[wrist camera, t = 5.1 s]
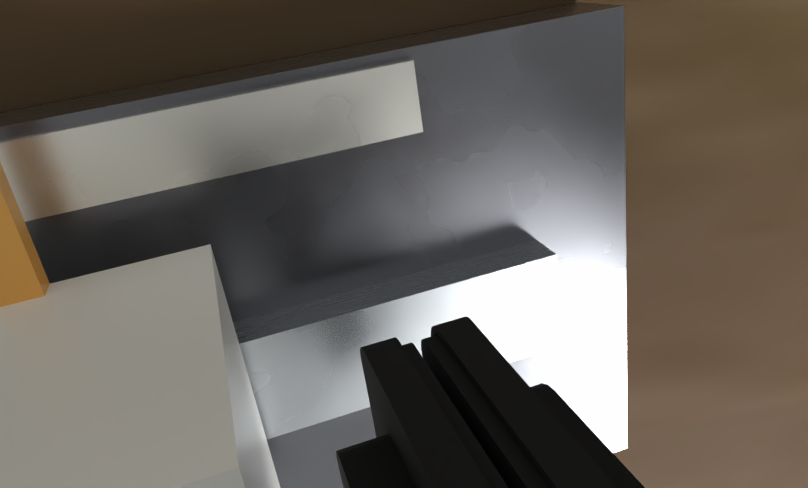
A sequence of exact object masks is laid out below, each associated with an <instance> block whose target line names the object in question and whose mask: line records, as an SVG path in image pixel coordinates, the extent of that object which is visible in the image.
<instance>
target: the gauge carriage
mask: <svg viewBox="0 0 808 488" xmlns="http://www.w3.org/2000/svg"><path fill="white" fill-rule="evenodd" d="M0 488H280V484H279V481H278V477H277V474H276V470H275V467H274V463H273V460H272V457H271V453H270V450H269V446H268V443H267V439H266V436H265V432H264V429H263V425H262V422H261V418H260V415H259V411H258V408H257V404H256V401H255V397H254V394H253V390H252V387H251V384H250V380H249V377H248V373H247V370H246V366H245V363H244V359H243V356H242V352H241V349H240V345H239V342H238V338H237V335H236V331H235V328H234V324H233V321H232V317H231V314H230V310H229V307H228V304H227V300H226V297H225V293H224V290H223V286H222V283H221V279H220V276H219V272H218V269H217V265H216V262H215V258H214V255H213V251H212V248H211V244H209V245H205V246H201V247H197V248H193V249H189V250H185V251H181V252H177V253H173V254H168V255H164V256H160V257H156V258H152V259H148V260H144V261H140V262H136V263H132V264H128V265H124V266H120V267H116V268H112V269H108V270H104V271H99V272H95V273H91V274H87V275H83V276H79V277H75V278H71V279H67V280H63V281H59V282H55V283H51V284H50V283H49V280H48V278H47V276H46V273H45V271H44V268H43V266H42V263H41V261H40V258H39V256H38V253H37V251H36V248H35V246H34V244H33V241H32V239H31V236H30V234H29V231H28V229H27V226H26V224H25V221H24V219H23V217H22V214H21V212H20V209H19V207H18V204H17V202H16V199H15V197H14V194H13V192H12V189H11V187H10V185H9V182H8V180H7V177H6V175H5V172H4V170H3V167H2V165H1V162H0Z"/></svg>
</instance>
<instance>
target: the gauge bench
mask: <svg viewBox="0 0 808 488" xmlns="http://www.w3.org/2000/svg"><path fill="white" fill-rule="evenodd" d="M0 162H1V165H2V167H3V170H4V172H5V175H6V177H7V180H8V182H9V185H10V187H11V189H12V192H13V194H14V197H15V199H16V202H17V204H18V207H19V209H20V212H21V214H22V217H23V219H24V221H25V224H26V226H27V229H28V231H29V234H30V236H31V239H32V241H33V244H34V246H35V248H36V251H37V253H38V256H39V258H40V261H41V263H42V266H43V268H44V271H45V273H46V276H47V278H48V280H49V283H50V284H51V283H55V282H59V281H63V280H67V279H71V278H75V277H79V276H83V275H87V274H91V273H95V272H99V271H104V270H108V269H112V268H116V267H120V266H124V265H128V264H132V263H136V262H140V261H144V260H148V259H152V258H156V257H160V256H164V255H168V254H173V253H177V252H181V251H185V250H189V249H193V248H197V247H201V246H205V245H209V244H211V248H212V251H213V255H214V258H215V262H216V265H217V269H218V272H219V276H220V279H221V283H222V286H223V290H224V293H225V297H226V300H227V304H228V307H229V310H230V314H231V317H232V321H233V324H234V328H235V331H236V335H237V338H238V342H239V345H240V349H241V352H242V356H243V359H244V363H245V366H246V370H247V373H248V377H249V380H250V384H251V387H252V390H253V394H254V397H255V401H256V404H257V408H258V411H259V415H260V418H261V422H262V425H263V429H264V432H265V436H266V439H267V443H268V446H269V450H270V453H271V457H272V460H273V463H274V467H275V470H276V474H277V477H278V481H279V484H280V488H343V484H342V480H341V475H340V471H339V467H338V462H337V457H336V451H337V450H340V449H343V448H346V447H349V446H352V445H355V444H358V443H362V442H365V441H368V440H371V439H374V438H376V433H375V428H374V423H373V418H372V413H371V407H370V402H369V397H368V392H367V387H366V382H365V377H364V372H363V367H362V362H361V356H360V347H363V346H367V345H370V344H374V343H377V342H380V341H384V340H387V339H391V338H394V337H396V338H397V339H398V340H399V341H400V343H401V345H405V344H408V343H413V344H414V345H415V347H416V348H417V350H418V351H419V353H420V354H421V356H422V351H421V340H422V339H425V338H428V337H431V328H432V326H435V325H438V324H441V323H445V322H448V321H452V320H455V319H458V318H462V317H469V318H470V319H471V320H472V321H473V322H474V324H475V325H476V326H477V327H478V328H479V329H480V330H481V332H482V333H483V334H484V335H485V336H486V337H487V338H488V340H489V341H490V342H491V343H492V344H493V345H494V346H495V348H496V349H497V350H498V351H499V352H500V353H501V354H502V356H503V357H504V358H505V359H506V360H507V361H508V362H509V364H510V365H511V366H512V367H513V368H514V369H515V370H516V372H517V373H518V374H519V375H520V376H521V377H522V379H523V380H524V381H525V382H526V383H527V384H528V385H529V387H532V386H535V385H538V384H541V383H543V384H547V385H549V386H550V387H551V388H552V389H553V390H555V391H556V393H557V394H558V395H559V396H560V397H561V398H562V399H563V400H564V401H565V402H566V403H567V404H568V405H569V407H570V408H571V409H572V410H573V411H574V412H575V413H576V414H577V415H578V416H579V417H580V418H581V420H582V421H583V422H584V423H585V424H586V425H587V426H588V427H589V428H590V429H591V430H592V431H593V432H594V434H595V435H596V436H597V437H598V438H599V439H600V440H601V441H602V442H603V443H604V444H605V445H606V447H607V448H608V449H609V450H610V451H611V452H612V453H616V452H618V451H621V450H624V449H627V448H628V419H627V298H626V178H625V58H624V5H609V4H593V3H574V4H569V5H564V6H558V7H553V8H548V9H543V10H537V11H532V12H527V13H522V14H516V15H511V16H506V17H501V18H495V19H490V20H485V21H480V22H474V23H469V24H464V25H459V26H453V27H448V28H443V29H438V30H432V31H427V32H422V33H417V34H411V35H406V36H401V37H396V38H390V39H385V40H380V41H375V42H369V43H364V44H359V45H354V46H348V47H343V48H338V49H333V50H327V51H322V52H317V53H312V54H306V55H301V56H296V57H291V58H285V59H280V60H275V61H270V62H264V63H259V64H254V65H249V66H243V67H238V68H233V69H228V70H222V71H217V72H212V73H207V74H201V75H196V76H191V77H186V78H180V79H175V80H170V81H165V82H159V83H154V84H149V85H144V86H138V87H133V88H128V89H123V90H117V91H112V92H107V93H102V94H96V95H91V96H86V97H81V98H75V99H70V100H65V101H60V102H54V103H49V104H44V105H39V106H33V107H28V108H23V109H18V110H12V111H7V112H2V113H0Z"/></svg>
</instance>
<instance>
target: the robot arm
mask: <svg viewBox="0 0 808 488" xmlns="http://www.w3.org/2000/svg"><path fill="white" fill-rule="evenodd" d="M421 351H422V356H421V354H420V353H419V351H418V350H417V348H416V347H415V345H414V344H413V343H408V344H405V345H401V343H400V341H399V340H398V339H397V338H396V337H394V338H391V339H387V340H384V341H380V342H377V343H374V344H370V345H367V346H363V347H360V356H361V362H362V367H363V372H364V377H365V382H366V387H367V392H368V397H369V402H370V407H371V413H372V418H373V423H374V428H375V433H376V438H374V439H371V440H368V441H365V442H362V443H358V444H355V445H352V446H349V447H346V448H343V449H340V450H337V451H336V457H337V462H338V467H339V471H340V475H341V480H342V484H343V488H644V487H643V485H642V484H641V483H640V482H639V481H638V480H637V479H636V478H635V477H634V476H633V475H632V474H631V472H630V471H629V470H628V469H627V468H626V467H625V466H624V465H623V464H622V463H621V462H620V461H619V459H618V458H617V457H616V456H615V455H614V454H613V453H612V452H611V451H610V450H609V449H608V448H607V447H606V445H605V444H604V443H603V442H602V441H601V440H600V439H599V438H598V437H597V436H596V435H595V434H594V432H593V431H592V430H591V429H590V428H589V427H588V426H587V425H586V424H585V423H584V422H583V421H582V420H581V418H580V417H579V416H578V415H577V414H576V413H575V412H574V411H573V410H572V409H571V408H570V407H569V405H568V404H567V403H566V402H565V401H564V400H563V399H562V398H561V397H560V396H559V395H558V394H557V393H556V391H555V390H553V389H552V388H551V387H550V386H549V385H547V384H543V383H541V384H538V385H535V386H532V387H529V385H528V384H527V383H526V382H525V381H524V380H523V379H522V377H521V376H520V375H519V374H518V373H517V372H516V370H515V369H514V368H513V367H512V366H511V365H510V364H509V362H508V361H507V360H506V359H505V358H504V357H503V356H502V354H501V353H500V352H499V351H498V350H497V349H496V348H495V346H494V345H493V344H492V343H491V342H490V341H489V340H488V338H487V337H486V336H485V335H484V334H483V333H482V332H481V330H480V329H479V328H478V327H477V326H476V325H475V324H474V322H473V321H472V320H471V319H470V318H469V317H462V318H458V319H455V320H452V321H448V322H445V323H441V324H438V325H435V326H432V328H431V337H428V338H425V339H422V340H421Z"/></svg>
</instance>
